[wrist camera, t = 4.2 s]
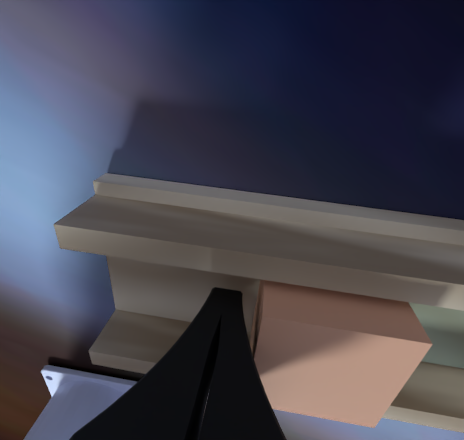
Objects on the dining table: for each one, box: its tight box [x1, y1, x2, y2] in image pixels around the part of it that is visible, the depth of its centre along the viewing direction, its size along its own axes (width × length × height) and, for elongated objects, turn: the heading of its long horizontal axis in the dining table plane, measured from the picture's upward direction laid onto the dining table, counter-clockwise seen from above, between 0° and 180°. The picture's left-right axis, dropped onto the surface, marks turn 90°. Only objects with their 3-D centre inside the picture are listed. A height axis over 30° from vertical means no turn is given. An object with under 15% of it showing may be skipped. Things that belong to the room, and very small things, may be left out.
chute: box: [54, 173, 464, 433], centre depth 12 cm, size 9×22×4 cm, turn 86°
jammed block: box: [250, 279, 433, 428], centre depth 11 cm, size 5×5×4 cm
